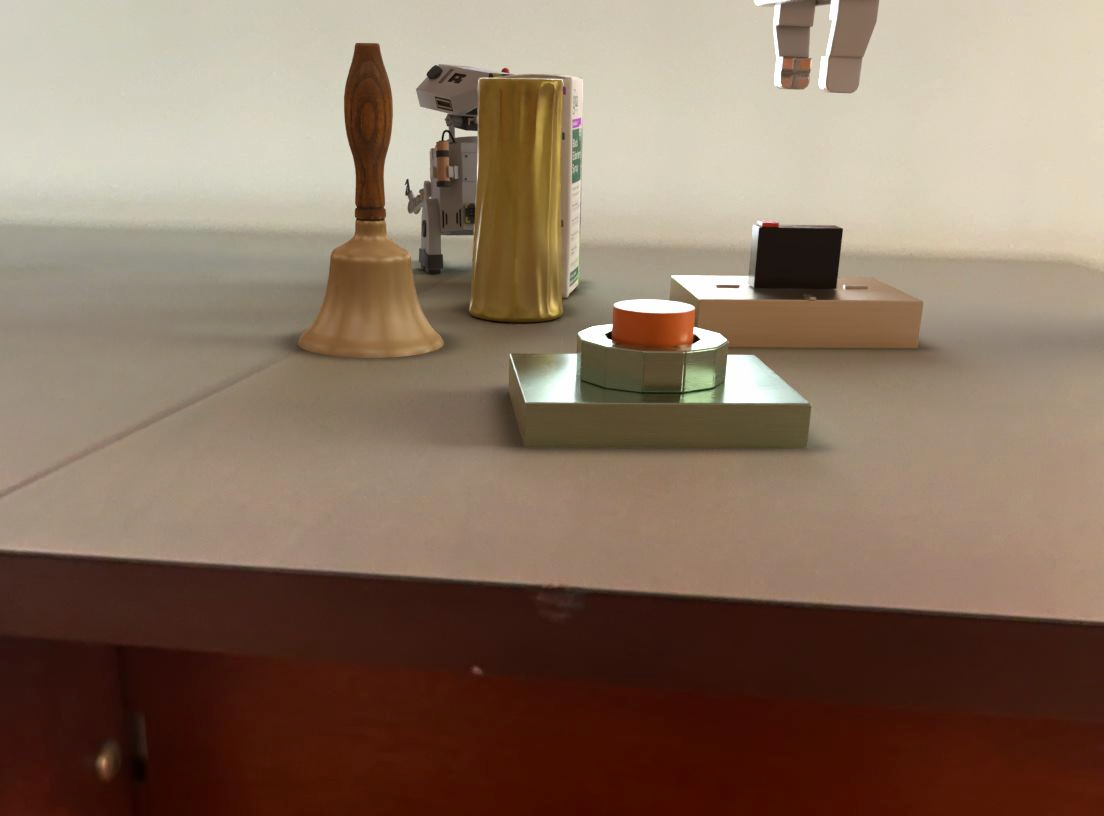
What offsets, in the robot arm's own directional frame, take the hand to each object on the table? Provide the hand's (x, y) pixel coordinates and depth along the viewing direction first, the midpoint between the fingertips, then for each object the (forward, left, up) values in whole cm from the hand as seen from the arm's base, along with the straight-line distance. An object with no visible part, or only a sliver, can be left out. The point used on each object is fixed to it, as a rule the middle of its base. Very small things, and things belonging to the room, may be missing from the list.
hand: (812, 91), depth 75 cm
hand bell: (+25, +4, -14) cm, 29 cm away
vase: (+16, -7, -14) cm, 23 cm away
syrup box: (+14, -17, -14) cm, 26 cm away
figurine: (+18, -29, -14) cm, 37 cm away
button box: (+12, +21, -14) cm, 28 cm away
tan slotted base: (0, 0, -14) cm, 14 cm away
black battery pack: (0, 0, -11) cm, 11 cm away
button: (+12, +21, -10) cm, 26 cm away
